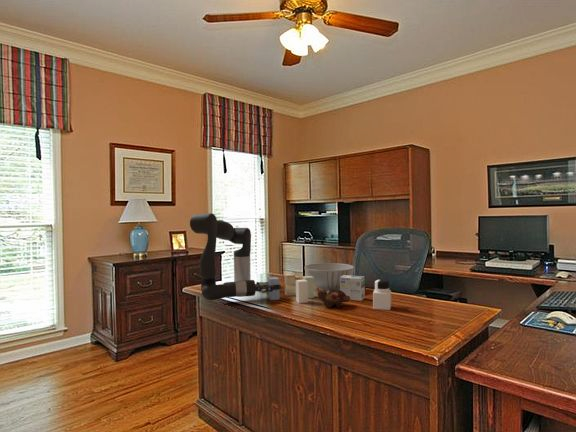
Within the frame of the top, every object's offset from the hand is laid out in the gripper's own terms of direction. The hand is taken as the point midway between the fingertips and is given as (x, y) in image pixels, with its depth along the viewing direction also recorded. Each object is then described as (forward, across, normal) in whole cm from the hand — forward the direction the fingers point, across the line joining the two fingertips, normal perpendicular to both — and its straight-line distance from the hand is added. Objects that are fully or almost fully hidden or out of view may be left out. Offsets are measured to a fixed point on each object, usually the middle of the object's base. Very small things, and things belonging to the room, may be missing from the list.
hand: (279, 285), depth 181 cm
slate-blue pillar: (-3, 0, +6) cm, 7 cm away
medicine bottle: (+38, -31, +6) cm, 50 cm away
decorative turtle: (+19, -22, +6) cm, 30 cm away
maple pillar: (+7, +6, +6) cm, 11 cm away
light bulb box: (+33, -12, +6) cm, 36 cm away
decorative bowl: (+31, +12, +6) cm, 34 cm away
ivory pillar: (+8, -10, +6) cm, 14 cm away
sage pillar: (+14, -2, +6) cm, 16 cm away
